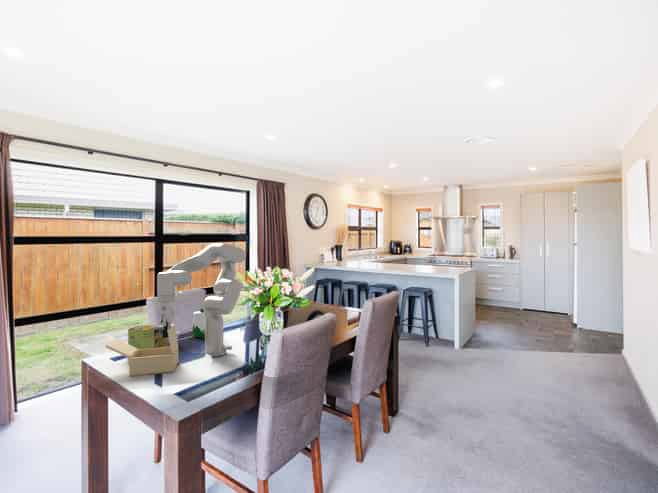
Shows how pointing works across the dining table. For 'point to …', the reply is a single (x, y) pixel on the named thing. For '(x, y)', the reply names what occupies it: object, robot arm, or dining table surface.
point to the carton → (153, 361)
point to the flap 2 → (172, 338)
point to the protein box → (147, 337)
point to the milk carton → (199, 324)
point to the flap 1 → (121, 348)
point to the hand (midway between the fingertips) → (166, 337)
